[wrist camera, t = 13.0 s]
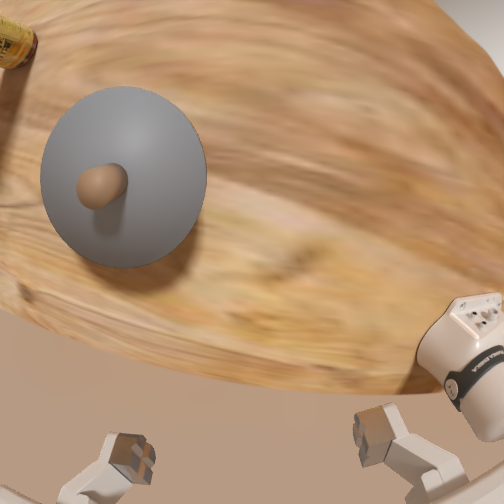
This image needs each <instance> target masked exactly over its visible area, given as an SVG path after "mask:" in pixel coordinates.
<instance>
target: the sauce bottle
mask: <svg viewBox="0 0 504 504" xmlns="http://www.w3.org/2000/svg"><path fill="white" fill-rule="evenodd" d="M36 44H37V36H36V33H35V32H34V31H33V30H31V29H30V28H28V27H26V26H24V25H22V24H19V23H17V22H15V21H12V20H10V19H7V18H5V17H2V16H0V67H1V68H5V69H15V68H19V67H21V66H23V65H24V64H25V63H26V62H27V61H28V60H29V59H30V57H31V56H32V55H33V53H34V51H35V49H36Z"/></svg>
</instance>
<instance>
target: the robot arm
mask: <svg viewBox="0 0 504 504" xmlns="http://www.w3.org/2000/svg"><path fill="white" fill-rule="evenodd" d="M501 306H502V297H501V294H500V293H499V292H495V293H489V294H483V295H476V296H469V297H462V298H457V299H455V300H454V301H453V302H452V303H451V305H450V306H449V308H448V309H447V311H446V312H445V314H444V315H443V316H442V317H441V318H440V319H439V320H438V321H437V322H436V323H435V324H434V325H433V326H432V327H431V328H430V329H429V331H428V332H427V333H426V335H425V336H424V338H423V340H422V341H421V343H420V346H419V348H418V352H417V362H418V364H419V365H420V366H421V367H423V368H424V369H426V370H427V371H428V372H429V373H431V374H432V375H433V376H434V377H435V378H436V379H437V380H438V381H439V382H440V383H441V385H442V386H443V387H444V389H445V391H446V393H447V395H448V397H449V399H450V400H451V402H452V403H453V405H454V406H455V407H456V409H457V410H458V411H459V412H462V414H463V415H464V417H465V418H466V420H467V422H468V423H469V425H470V426H471V428H472V430H473V431H474V433H475V434H476V436H477V438H478V439H479V440H481V441H483V442H495V441H498V440H501V439H504V313H503V312H502V311H501ZM354 419H355V423H354V424H353V436H354V440H355V444H356V446H358V447H359V448H360V450H359V457H360V461H361V464H362V467H363V468H364V467H367V466H371V465H375V464H378V463H381V462H384V463H385V464H386V465H387V466H388V467H390V468H391V469H392V470H394V471H395V472H396V473H398V474H399V475H400V476H402V477H403V478H404V479H406V480H407V481H408V482H410V483H411V484H412V485H414V487H413V488H412V489H411V491H410V492H409V493H408V494H407V496H406V497H405V501H406V504H504V460H503V461H502V462H500V463H499V464H498V465H496V466H495V467H493V468H492V469H490V470H489V471H487V472H485V473H484V474H482V475H481V476H479V477H477V478H476V479H474V480H472V481H471V482H469V480H468V478H467V476H466V473H465V471H464V469H463V467H462V465H461V463H460V461H459V459H458V457H457V456H455V455H453V454H451V453H449V452H447V451H445V450H444V449H442V448H440V447H438V446H436V445H434V444H432V443H430V442H429V441H427V440H425V439H423V438H421V437H420V436H418V435H416V434H414V433H411V434H409V432H408V429H407V427H406V425H405V423H404V421H403V419H402V417H401V415H400V413H399V410H398V408H397V406H396V404H394V403H393V402H391V403H388V404H385V405H382V406H378V407H375V408H371V409H368V410H365V411H361V412H358V413H356V414H355V415H354ZM155 459H156V457H155V451H154V448H153V447H152V445H150V444H149V443H147V442H146V438H145V437H144V436H143V435H137V434H124V433H115V432H109V433H108V434H107V436H106V439H105V442H104V444H103V447H102V450H101V453H100V456H99V459H98V461H94V462H93V463H92V464H91V465H89V466H88V467H87V468H86V469H84V470H83V471H82V472H81V473H79V474H78V475H77V476H76V477H74V478H73V479H72V480H71V481H69V482H68V483H67V484H65V485H64V486H63V487H62V489H61V491H60V494H59V497H58V500H57V503H56V504H116V502H117V501H118V500H119V499H120V498H121V497H122V496H123V495H124V494H125V492H126V491H127V490H128V489H129V488H130V487H131V486H132V485H133V484H132V483H134V484H143V485H150V484H151V478H152V474H153V472H152V470H151V469H150V468H151V467H152V466H153V465H154V464H155ZM0 504H41V503H39V502H36V501H34V500H33V499H30V498H29V497H26V496H25V495H23V494H21V493H19V492H17V491H15V490H13V489H11V488H9V487H8V486H5V485H0Z"/></svg>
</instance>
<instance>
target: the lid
mask: <svg viewBox="0 0 504 504" xmlns="http://www.w3.org/2000/svg"><path fill="white" fill-rule="evenodd" d="M40 183H41V193H42V198H43V203H44V206H45V209H46V212H47V214H48V217H49V219H50V221H51V223H52V225H53V226H54V228H55V230H56V231H57V233H58V234H59V235H60V237H61V238H62V239H63V240H64V241H65V242H66V243H67V245H68V246H69V247H70V248H72V249H73V250H74V251H75V252H77V253H78V254H79V255H81V256H83V257H84V258H86V259H88V260H90V261H92V262H94V263H97V264H100V265H103V266H107V267H113V268H135V267H140V266H144V265H147V264H150V263H153V262H155V261H157V260H159V259H161V258H163V257H164V256H166V255H167V254H169V253H170V252H171V251H173V250H174V249H175V248H176V247H177V246H178V245H179V244H180V243H181V242H182V241H183V240H184V239H185V237H186V236H187V235H188V233H189V232H190V230H191V229H192V227H193V225H194V223H195V222H196V220H197V217H198V215H199V212H200V210H201V208H202V204H203V201H204V197H205V191H206V184H207V168H206V159H205V155H204V151H203V146H202V144H201V141H200V139H199V136H198V134H197V132H196V130H195V129H194V127H193V125H192V123H191V122H190V121H189V120H188V118H187V117H186V116H185V114H184V113H183V112H182V111H181V110H180V109H179V108H178V107H177V106H175V105H174V104H173V103H171V102H170V101H168V100H167V99H165V98H164V97H162V96H160V95H158V94H156V93H154V92H151V91H148V90H145V89H142V88H136V87H112V88H107V89H103V90H100V91H97V92H94V93H92V94H90V95H88V96H86V97H84V98H83V99H81V100H80V101H78V102H77V103H76V104H74V105H73V106H72V107H71V108H70V109H69V110H68V111H67V112H66V113H65V114H64V115H63V116H62V117H61V118H60V120H59V121H58V123H57V124H56V126H55V127H54V129H53V131H52V133H51V134H50V136H49V139H48V141H47V144H46V146H45V149H44V153H43V157H42V163H41V172H40Z"/></svg>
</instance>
